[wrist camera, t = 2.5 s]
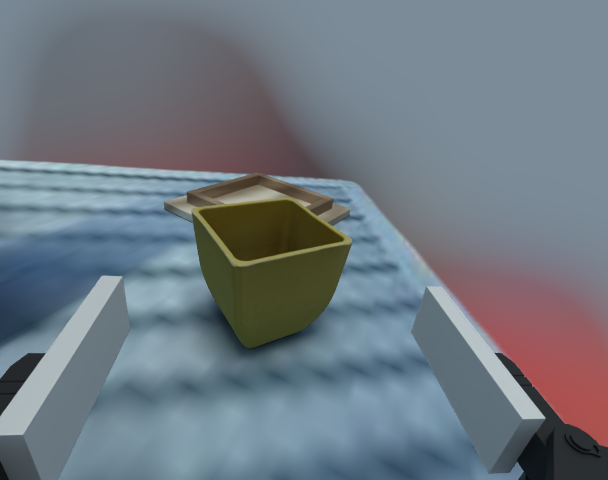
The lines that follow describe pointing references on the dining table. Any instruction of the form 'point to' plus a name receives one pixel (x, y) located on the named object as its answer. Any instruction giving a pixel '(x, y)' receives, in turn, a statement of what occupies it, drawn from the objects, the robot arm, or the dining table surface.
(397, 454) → the dining table surface
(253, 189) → the birch tray
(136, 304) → the dining table surface
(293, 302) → the flower pot
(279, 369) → the dining table surface
